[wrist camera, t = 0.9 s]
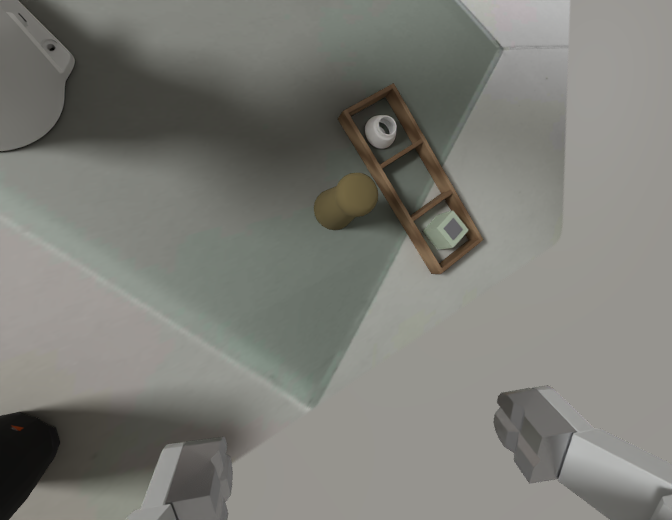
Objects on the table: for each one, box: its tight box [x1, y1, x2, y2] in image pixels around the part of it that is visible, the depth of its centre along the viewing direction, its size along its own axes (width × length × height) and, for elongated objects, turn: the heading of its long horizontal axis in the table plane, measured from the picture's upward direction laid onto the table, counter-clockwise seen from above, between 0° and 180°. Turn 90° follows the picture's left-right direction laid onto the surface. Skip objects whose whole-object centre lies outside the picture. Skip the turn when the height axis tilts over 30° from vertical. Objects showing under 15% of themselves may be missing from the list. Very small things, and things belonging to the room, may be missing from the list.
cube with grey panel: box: [422, 211, 468, 250], centre depth 52 cm, size 4×4×4 cm
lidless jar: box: [365, 115, 396, 149], centre depth 50 cm, size 5×3×5 cm
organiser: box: [338, 83, 483, 274], centre depth 51 cm, size 28×10×2 cm, turn 34°
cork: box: [314, 173, 378, 230], centre depth 43 cm, size 6×6×11 cm
